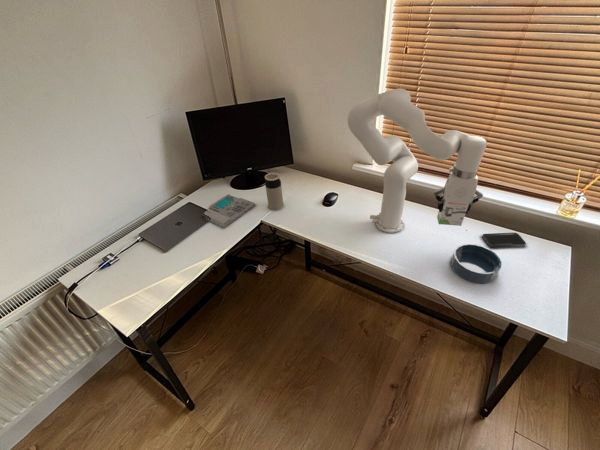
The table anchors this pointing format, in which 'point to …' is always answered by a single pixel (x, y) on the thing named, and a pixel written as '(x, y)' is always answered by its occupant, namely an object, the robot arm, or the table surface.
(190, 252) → the table surface
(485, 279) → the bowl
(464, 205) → the ink box
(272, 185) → the travel mug
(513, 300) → the table surface
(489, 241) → the phone
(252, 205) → the office telephone
